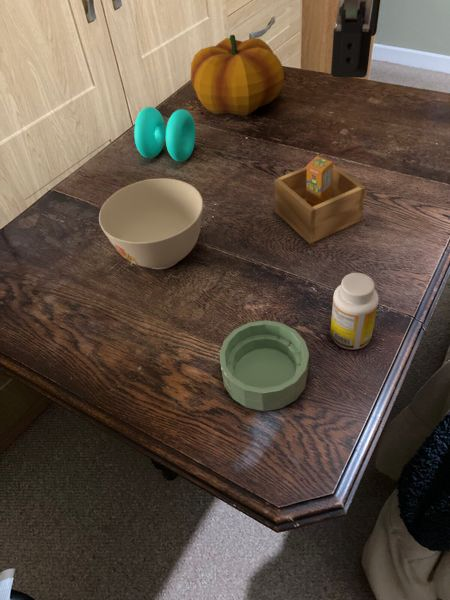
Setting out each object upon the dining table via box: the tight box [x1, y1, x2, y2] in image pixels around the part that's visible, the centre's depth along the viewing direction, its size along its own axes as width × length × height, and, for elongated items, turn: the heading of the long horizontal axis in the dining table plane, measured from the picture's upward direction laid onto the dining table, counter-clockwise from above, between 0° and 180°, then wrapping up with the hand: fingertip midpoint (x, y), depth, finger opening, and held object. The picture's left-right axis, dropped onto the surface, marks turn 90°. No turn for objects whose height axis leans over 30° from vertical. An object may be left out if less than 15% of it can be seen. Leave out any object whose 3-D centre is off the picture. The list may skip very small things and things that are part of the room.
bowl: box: [98, 177, 204, 270], centre depth 79 cm, size 16×16×10 cm
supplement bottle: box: [329, 272, 379, 350], centre depth 64 cm, size 6×6×10 cm
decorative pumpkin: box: [190, 34, 285, 116], centre depth 111 cm, size 20×22×15 cm
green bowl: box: [218, 319, 310, 412], centre depth 63 cm, size 11×11×4 cm
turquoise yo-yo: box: [133, 106, 196, 163], centre depth 100 cm, size 10×10×10 cm
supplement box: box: [306, 155, 334, 207], centre depth 81 cm, size 3×3×10 cm
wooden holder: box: [273, 158, 366, 245], centre depth 83 cm, size 11×11×7 cm
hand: (354, 54), depth 48 cm, fingers open, 9 cm apart
